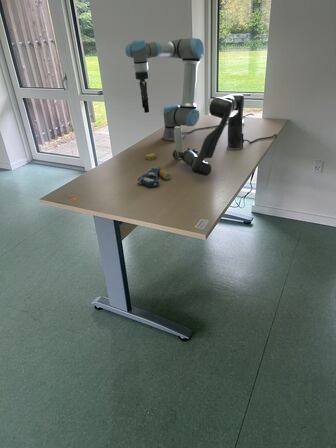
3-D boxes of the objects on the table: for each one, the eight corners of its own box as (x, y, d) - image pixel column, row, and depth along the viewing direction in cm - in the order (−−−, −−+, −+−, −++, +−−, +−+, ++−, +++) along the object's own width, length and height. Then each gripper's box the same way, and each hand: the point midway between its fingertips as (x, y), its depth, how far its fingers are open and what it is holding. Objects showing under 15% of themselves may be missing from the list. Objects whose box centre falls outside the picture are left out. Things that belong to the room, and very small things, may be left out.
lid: (150, 156, 219) (150, 152, 217) (156, 157, 215) (156, 154, 214) (145, 158, 215) (144, 155, 214) (151, 160, 212) (150, 156, 211)
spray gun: (175, 173, 189) (152, 171, 196) (175, 166, 187) (151, 164, 193) (159, 190, 174) (134, 186, 180) (158, 182, 172) (133, 179, 178)
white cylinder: (181, 159, 209) (179, 128, 198) (174, 158, 211) (172, 127, 201) (184, 157, 212) (183, 126, 202) (178, 156, 214) (176, 125, 204)
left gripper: (133, 69, 199) (138, 106, 210) (136, 74, 178) (141, 115, 189) (146, 68, 200) (150, 105, 211) (150, 73, 178) (154, 113, 189)
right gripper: (202, 150, 190) (192, 142, 204) (178, 154, 187) (169, 146, 201) (202, 162, 194) (192, 154, 207) (179, 166, 191) (170, 158, 204)
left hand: (145, 109), depth 200 cm, fingers open, 13 cm apart
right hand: (181, 150), depth 204 cm, fingers open, 8 cm apart
